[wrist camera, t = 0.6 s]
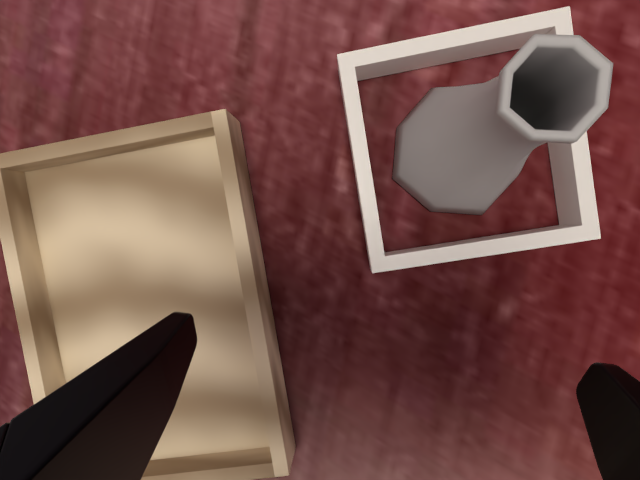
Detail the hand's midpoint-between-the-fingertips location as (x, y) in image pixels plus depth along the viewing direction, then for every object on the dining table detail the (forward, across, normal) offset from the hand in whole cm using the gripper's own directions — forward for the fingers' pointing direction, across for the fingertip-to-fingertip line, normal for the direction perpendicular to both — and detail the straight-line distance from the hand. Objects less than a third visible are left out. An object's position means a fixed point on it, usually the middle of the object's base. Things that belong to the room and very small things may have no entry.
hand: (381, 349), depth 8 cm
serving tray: (+10, +12, +9) cm, 18 cm away
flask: (+15, -5, 0) cm, 16 cm away
